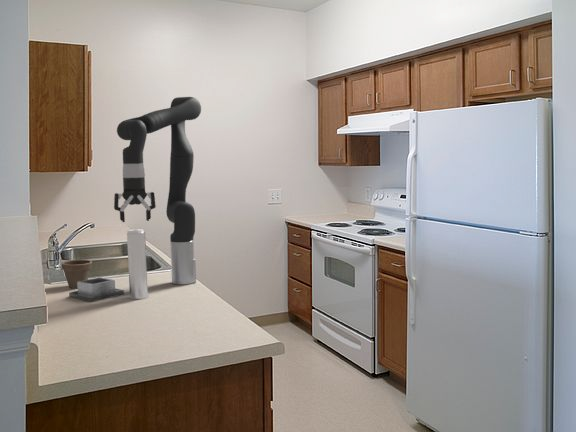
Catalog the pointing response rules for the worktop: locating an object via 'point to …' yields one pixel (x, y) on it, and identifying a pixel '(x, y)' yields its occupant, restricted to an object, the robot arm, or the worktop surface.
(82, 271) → the flower pot
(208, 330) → the worktop surface
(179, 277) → the robot arm
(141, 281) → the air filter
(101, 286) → the duct collar
